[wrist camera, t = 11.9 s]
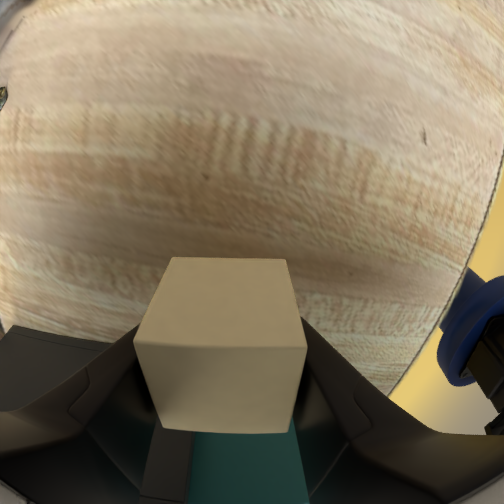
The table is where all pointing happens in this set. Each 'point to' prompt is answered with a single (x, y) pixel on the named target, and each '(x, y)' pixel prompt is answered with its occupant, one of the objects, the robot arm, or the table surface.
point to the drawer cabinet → (61, 368)
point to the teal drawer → (247, 469)
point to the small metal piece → (2, 96)
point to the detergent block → (223, 346)
